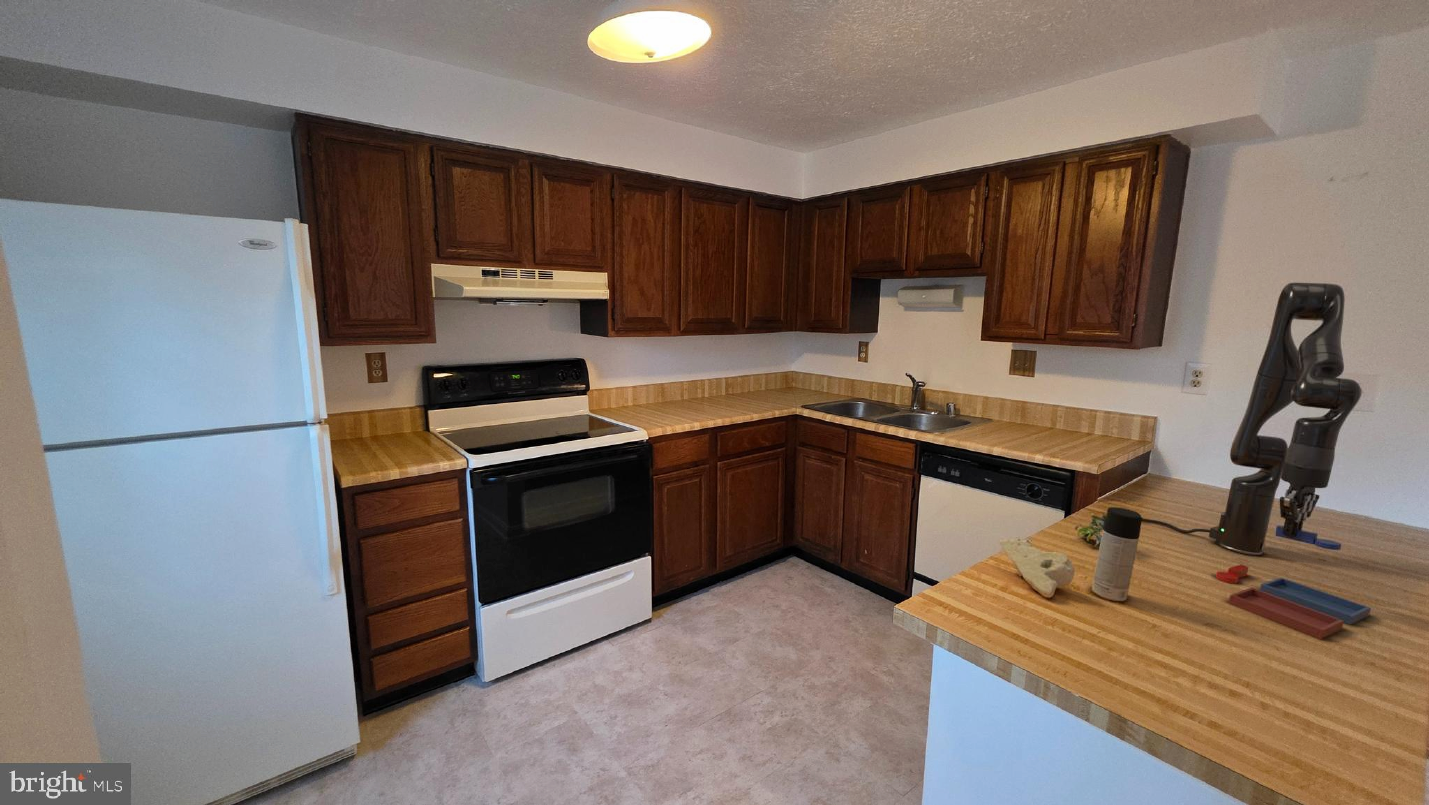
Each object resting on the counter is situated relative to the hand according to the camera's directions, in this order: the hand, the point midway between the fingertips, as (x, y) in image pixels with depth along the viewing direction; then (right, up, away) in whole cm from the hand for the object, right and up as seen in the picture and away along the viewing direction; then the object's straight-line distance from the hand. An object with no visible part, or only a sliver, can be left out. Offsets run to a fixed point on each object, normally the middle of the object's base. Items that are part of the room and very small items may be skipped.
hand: (1290, 535), depth 131 cm
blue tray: (+4, -15, -1) cm, 16 cm away
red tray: (-10, -16, -8) cm, 20 cm away
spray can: (-45, -13, -3) cm, 47 cm away
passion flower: (-26, -9, +26) cm, 38 cm away
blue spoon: (+1, -1, -3) cm, 3 cm away
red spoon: (-4, -13, +10) cm, 17 cm away
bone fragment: (-61, -12, +1) cm, 62 cm away
